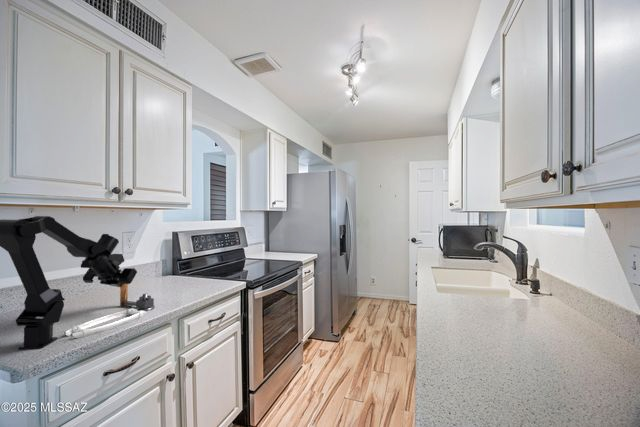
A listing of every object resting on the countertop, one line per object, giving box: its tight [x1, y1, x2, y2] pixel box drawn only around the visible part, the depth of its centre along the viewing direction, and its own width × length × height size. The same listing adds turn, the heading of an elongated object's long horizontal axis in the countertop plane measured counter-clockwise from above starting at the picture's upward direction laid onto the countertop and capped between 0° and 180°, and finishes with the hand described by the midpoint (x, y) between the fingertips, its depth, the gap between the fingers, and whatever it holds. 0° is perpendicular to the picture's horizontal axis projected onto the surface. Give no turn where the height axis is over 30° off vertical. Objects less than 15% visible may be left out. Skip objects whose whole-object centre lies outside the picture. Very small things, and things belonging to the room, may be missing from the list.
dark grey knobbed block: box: [134, 293, 156, 312], centre depth 121 cm, size 7×7×6 cm
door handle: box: [63, 308, 147, 339], centre depth 104 cm, size 3×10×25 cm
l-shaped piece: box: [119, 284, 155, 309], centre depth 122 cm, size 15×4×15 cm, turn 76°
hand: (120, 286), depth 122 cm, fingers closed
